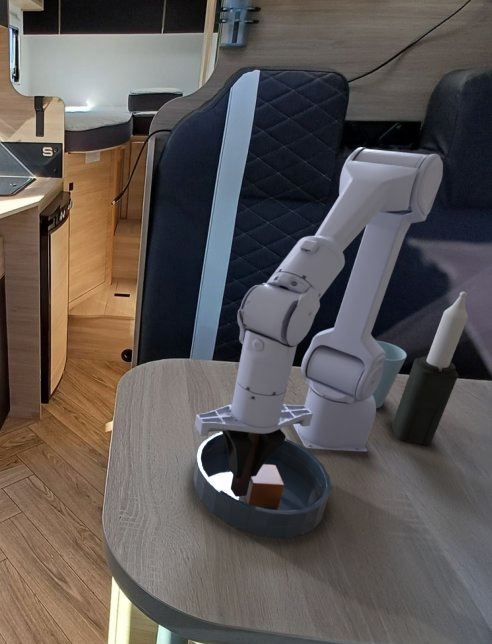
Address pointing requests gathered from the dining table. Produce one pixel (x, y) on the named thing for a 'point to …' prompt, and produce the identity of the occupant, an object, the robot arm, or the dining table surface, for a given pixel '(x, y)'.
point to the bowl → (285, 521)
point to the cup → (388, 371)
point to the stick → (245, 469)
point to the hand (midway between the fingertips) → (242, 472)
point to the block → (265, 488)
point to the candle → (431, 381)
